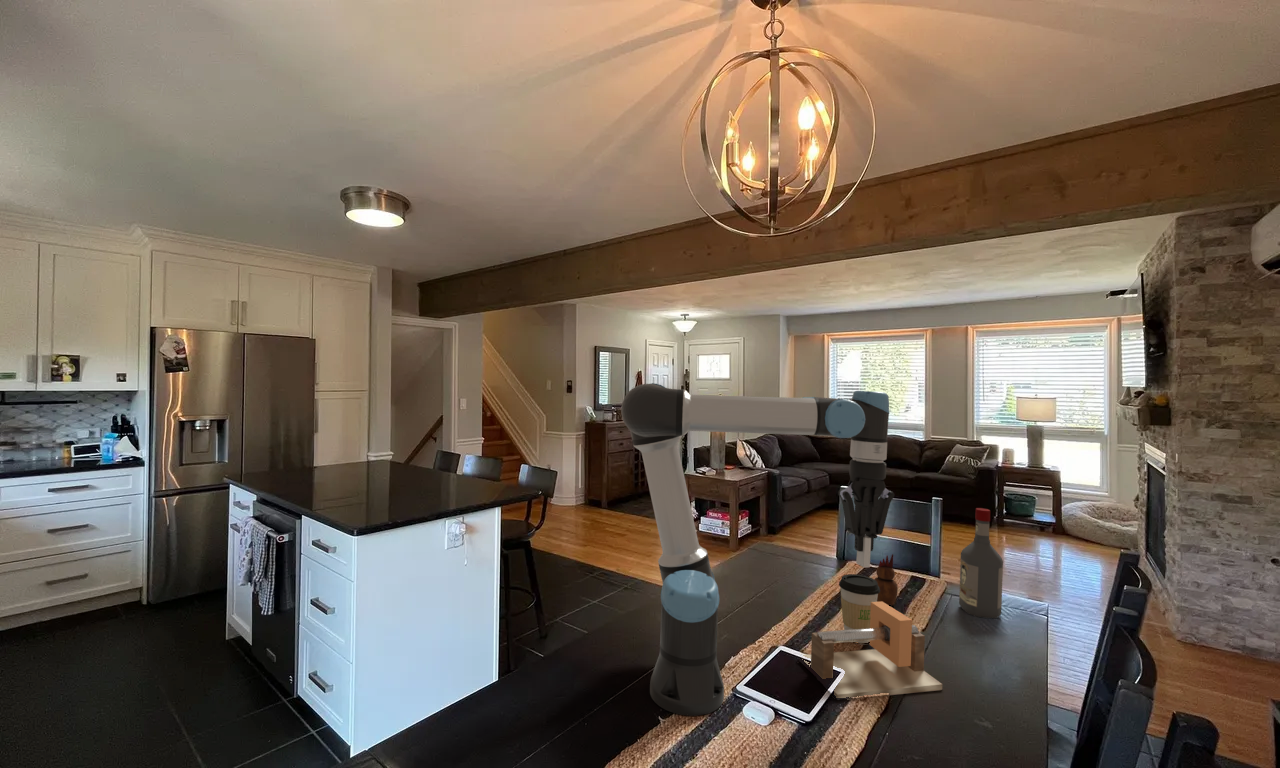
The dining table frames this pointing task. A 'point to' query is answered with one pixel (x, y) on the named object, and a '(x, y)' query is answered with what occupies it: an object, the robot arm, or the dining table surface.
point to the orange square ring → (892, 633)
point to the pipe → (859, 634)
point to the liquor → (981, 573)
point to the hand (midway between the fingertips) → (863, 565)
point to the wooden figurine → (886, 582)
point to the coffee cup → (857, 601)
